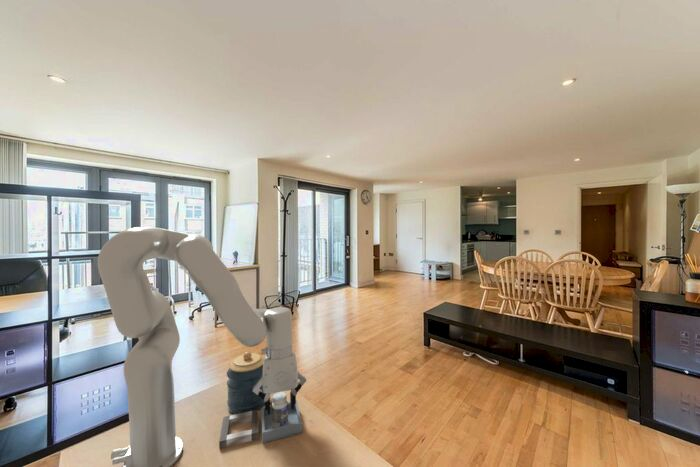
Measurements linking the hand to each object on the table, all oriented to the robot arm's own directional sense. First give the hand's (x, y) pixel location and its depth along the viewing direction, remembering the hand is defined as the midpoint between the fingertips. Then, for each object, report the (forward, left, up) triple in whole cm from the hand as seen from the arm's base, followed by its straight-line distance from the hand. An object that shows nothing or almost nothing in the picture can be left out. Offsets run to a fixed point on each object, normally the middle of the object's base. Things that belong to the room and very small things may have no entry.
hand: (280, 408), depth 82 cm
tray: (0, 0, -5) cm, 5 cm away
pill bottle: (0, 0, -5) cm, 5 cm away
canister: (-9, +14, -5) cm, 18 cm away
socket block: (-11, +2, -5) cm, 13 cm away
